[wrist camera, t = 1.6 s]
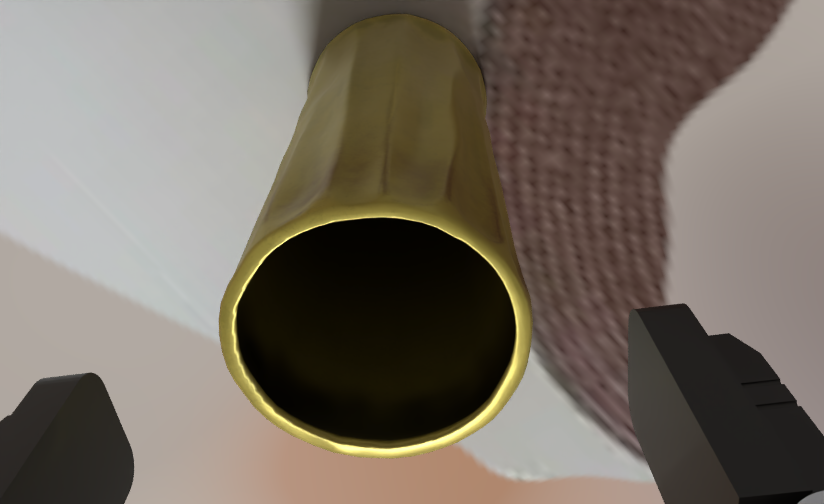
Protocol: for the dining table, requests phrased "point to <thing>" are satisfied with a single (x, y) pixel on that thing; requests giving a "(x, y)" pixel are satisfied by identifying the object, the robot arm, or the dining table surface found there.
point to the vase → (382, 256)
